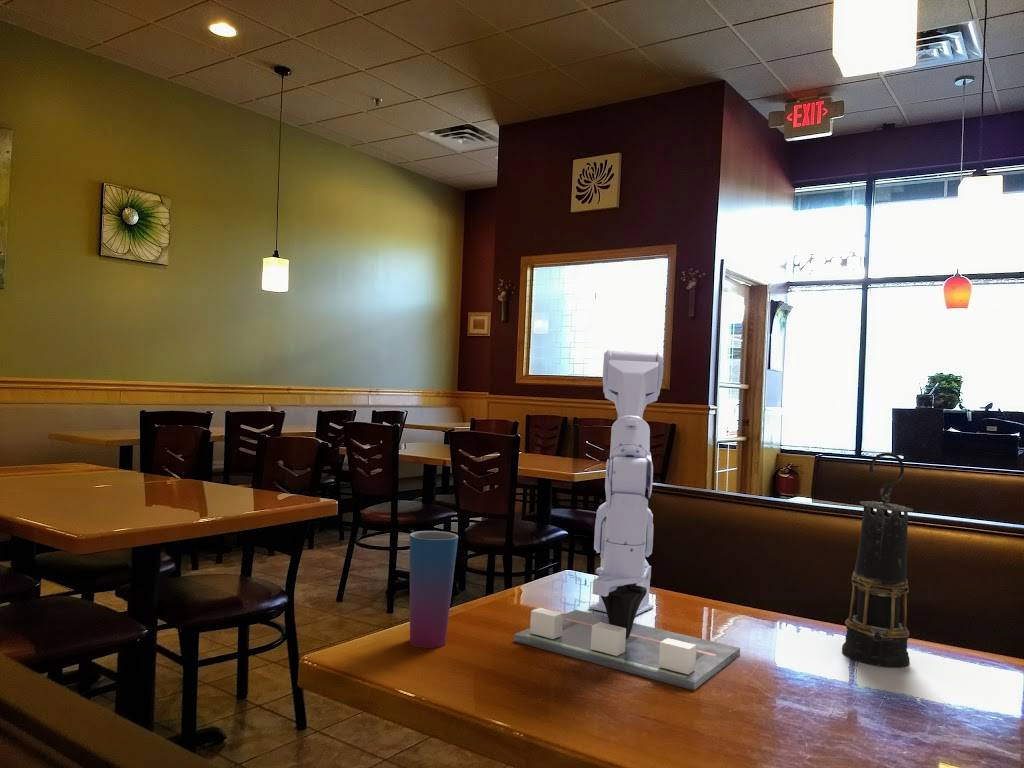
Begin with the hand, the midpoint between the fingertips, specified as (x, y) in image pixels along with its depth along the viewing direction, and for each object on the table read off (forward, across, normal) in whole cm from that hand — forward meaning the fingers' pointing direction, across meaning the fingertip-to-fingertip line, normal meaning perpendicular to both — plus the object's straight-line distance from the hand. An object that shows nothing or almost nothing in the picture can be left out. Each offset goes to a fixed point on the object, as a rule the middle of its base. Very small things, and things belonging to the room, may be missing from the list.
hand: (620, 637), depth 107 cm
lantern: (+2, -25, +29) cm, 39 cm away
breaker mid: (+1, +4, 0) cm, 4 cm away
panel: (+2, -2, 0) cm, 3 cm away
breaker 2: (+1, +4, +10) cm, 11 cm away
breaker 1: (+1, +4, -10) cm, 11 cm away
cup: (+2, +16, -22) cm, 27 cm away
